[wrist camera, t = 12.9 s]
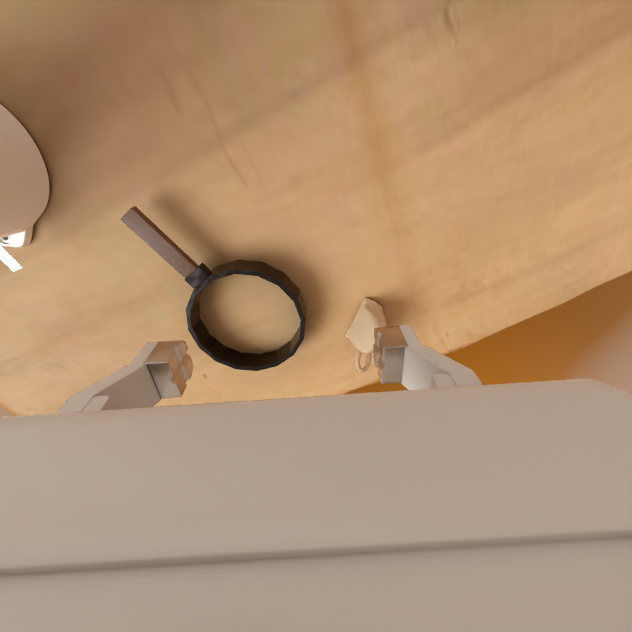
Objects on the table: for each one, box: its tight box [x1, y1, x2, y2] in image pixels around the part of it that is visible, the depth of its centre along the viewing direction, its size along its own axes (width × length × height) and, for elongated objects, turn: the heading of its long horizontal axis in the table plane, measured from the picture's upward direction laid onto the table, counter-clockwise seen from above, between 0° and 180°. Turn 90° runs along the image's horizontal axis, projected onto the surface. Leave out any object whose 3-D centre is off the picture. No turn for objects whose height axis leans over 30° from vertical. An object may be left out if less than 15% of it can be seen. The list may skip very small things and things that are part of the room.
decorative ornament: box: [345, 298, 387, 372], centre depth 43 cm, size 4×8×5 cm, turn 157°
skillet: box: [121, 206, 306, 371], centre depth 41 cm, size 26×15×3 cm, turn 39°
